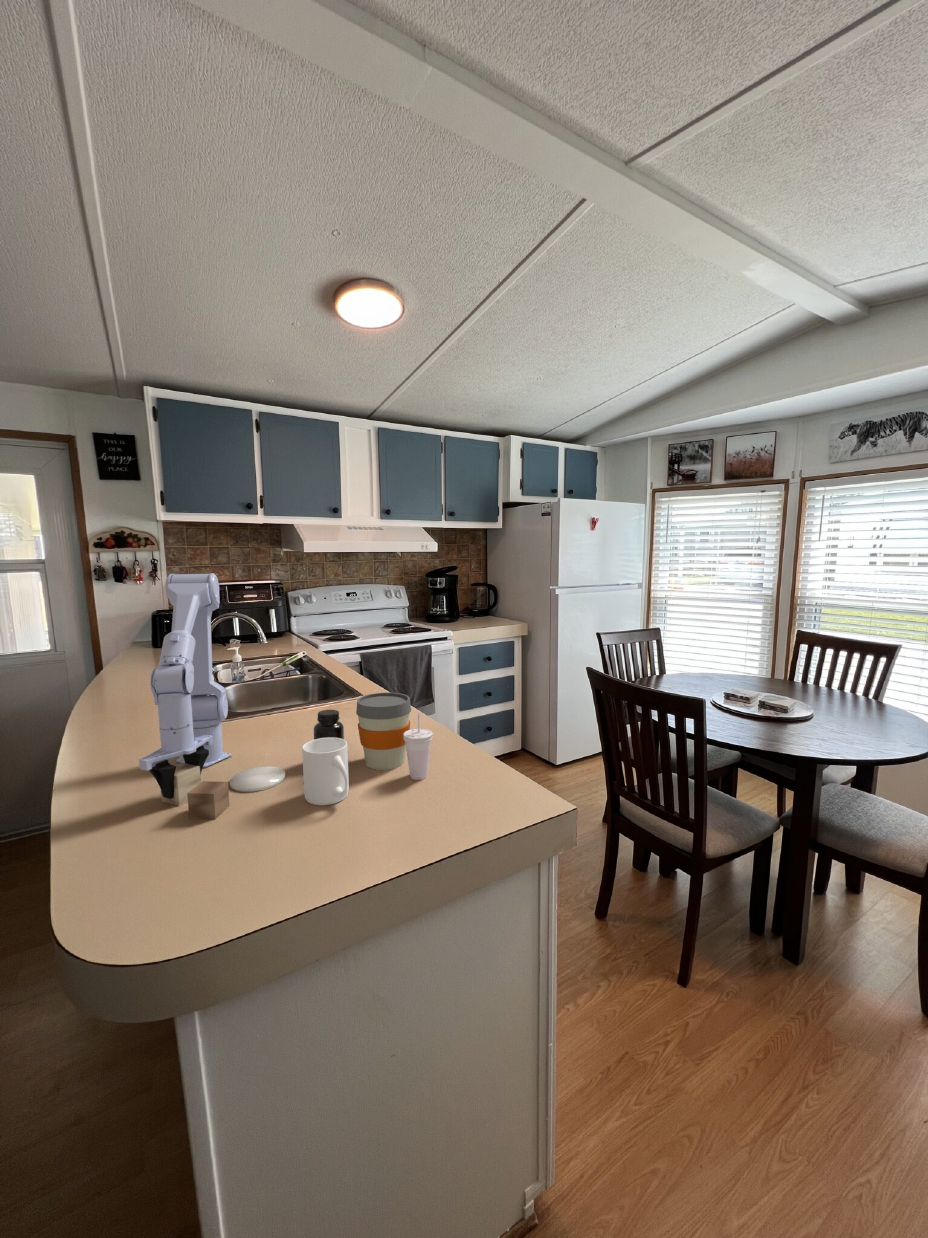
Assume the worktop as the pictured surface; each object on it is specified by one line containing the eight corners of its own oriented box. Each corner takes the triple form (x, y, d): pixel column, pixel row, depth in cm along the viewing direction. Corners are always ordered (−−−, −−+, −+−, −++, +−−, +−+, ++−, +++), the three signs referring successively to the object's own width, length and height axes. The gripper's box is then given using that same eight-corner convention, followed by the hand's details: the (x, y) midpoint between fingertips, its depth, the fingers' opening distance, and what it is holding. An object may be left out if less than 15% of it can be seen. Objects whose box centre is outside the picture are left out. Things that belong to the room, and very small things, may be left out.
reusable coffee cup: (401, 748, 128) (400, 689, 126) (420, 766, 117) (419, 702, 115) (351, 757, 122) (349, 696, 120) (366, 777, 111) (364, 710, 109)
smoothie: (438, 773, 113) (437, 711, 111) (424, 784, 107) (423, 720, 105) (413, 768, 116) (412, 708, 114) (398, 779, 110) (396, 716, 108)
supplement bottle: (336, 769, 115) (334, 717, 114) (309, 766, 117) (306, 716, 115) (349, 757, 122) (347, 708, 121) (323, 755, 124) (321, 707, 122)
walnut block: (189, 819, 94) (187, 793, 93) (204, 806, 99) (202, 781, 98) (215, 819, 94) (213, 793, 93) (229, 806, 99) (227, 781, 98)
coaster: (218, 786, 107) (217, 783, 107) (258, 766, 117) (258, 763, 117) (258, 796, 103) (258, 792, 103) (296, 774, 113) (296, 771, 113)
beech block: (161, 801, 101) (159, 772, 100) (184, 790, 105) (182, 762, 105) (179, 806, 99) (177, 776, 98) (201, 794, 103) (199, 766, 103)
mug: (326, 818, 94) (324, 762, 93) (296, 796, 102) (294, 744, 101) (366, 802, 100) (365, 749, 98) (335, 783, 108) (333, 734, 107)
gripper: (155, 740, 92) (161, 811, 94) (221, 716, 105) (226, 779, 107) (129, 735, 95) (135, 804, 96) (197, 713, 108) (201, 774, 110)
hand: (181, 791), depth 102 cm, fingers closed on beech block, 5 cm apart
